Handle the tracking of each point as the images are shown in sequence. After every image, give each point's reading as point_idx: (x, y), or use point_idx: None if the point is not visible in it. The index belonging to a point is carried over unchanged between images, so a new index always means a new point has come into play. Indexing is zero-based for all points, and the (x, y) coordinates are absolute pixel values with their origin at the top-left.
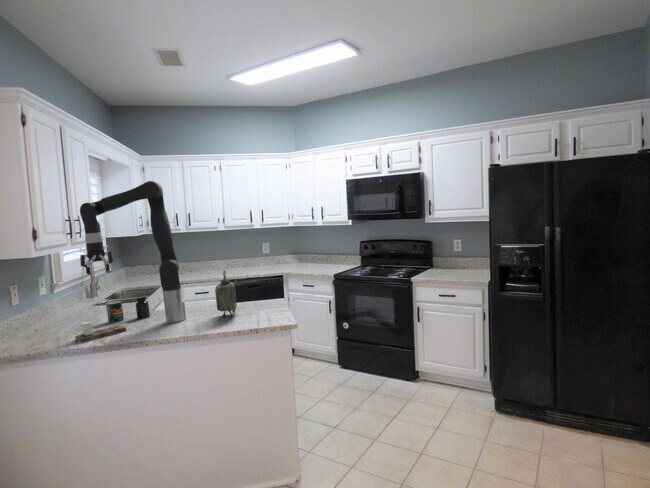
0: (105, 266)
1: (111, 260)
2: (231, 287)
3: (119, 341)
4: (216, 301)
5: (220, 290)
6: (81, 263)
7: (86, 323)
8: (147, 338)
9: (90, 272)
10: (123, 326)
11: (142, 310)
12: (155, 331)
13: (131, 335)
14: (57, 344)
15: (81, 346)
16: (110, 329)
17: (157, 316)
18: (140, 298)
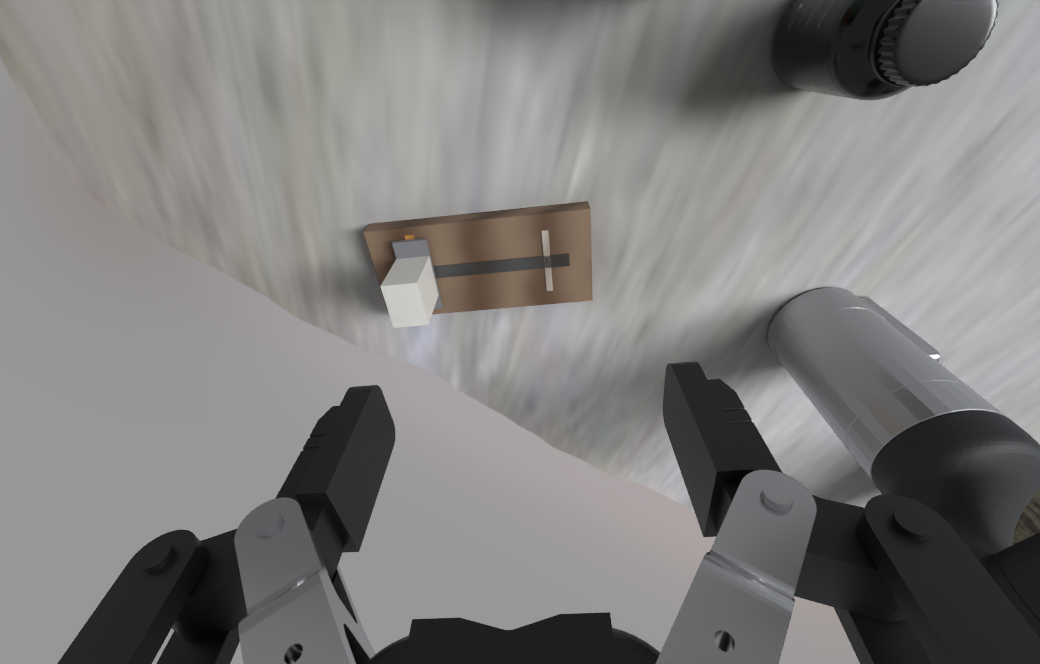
0: (700, 442)
1: (883, 630)
2: None
3: (518, 409)
4: None
5: None
6: (116, 633)
7: (406, 324)
8: (596, 452)
9: (387, 462)
10: (589, 276)
11: (822, 91)
12: (657, 403)
13: (576, 376)
14: (290, 225)
15: (393, 353)
16: (526, 274)
17: (868, 114)
18: (900, 81)
